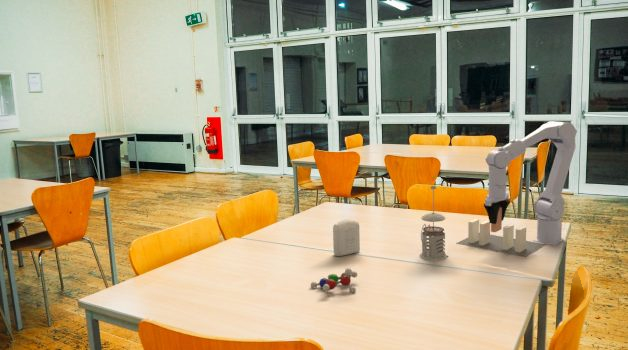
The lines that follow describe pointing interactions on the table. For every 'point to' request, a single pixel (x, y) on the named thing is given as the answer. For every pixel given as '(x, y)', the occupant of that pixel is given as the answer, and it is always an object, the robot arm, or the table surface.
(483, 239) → the domino
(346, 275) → the molecule model
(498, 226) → the terracotta domino
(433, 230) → the french press
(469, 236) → the domino
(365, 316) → the table surface
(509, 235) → the domino
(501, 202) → the robot arm
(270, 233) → the table surface
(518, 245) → the domino
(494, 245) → the mat
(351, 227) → the photo printer
